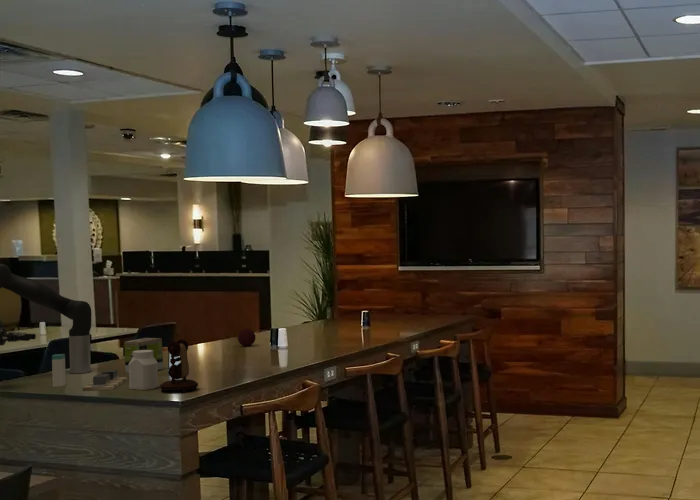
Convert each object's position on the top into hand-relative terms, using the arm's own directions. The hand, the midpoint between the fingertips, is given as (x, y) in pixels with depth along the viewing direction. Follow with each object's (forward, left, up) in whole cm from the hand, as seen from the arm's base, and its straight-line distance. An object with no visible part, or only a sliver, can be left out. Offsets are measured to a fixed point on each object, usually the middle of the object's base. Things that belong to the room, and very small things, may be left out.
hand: (32, 337), depth 366 cm
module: (0, +10, -21) cm, 23 cm away
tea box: (-36, +38, -21) cm, 57 cm away
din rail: (+2, +30, -19) cm, 36 cm away
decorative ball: (-123, +77, -21) cm, 147 cm away
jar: (+12, +48, -21) cm, 54 cm away
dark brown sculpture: (+21, +64, -21) cm, 71 cm away
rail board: (+2, +30, -21) cm, 37 cm away
